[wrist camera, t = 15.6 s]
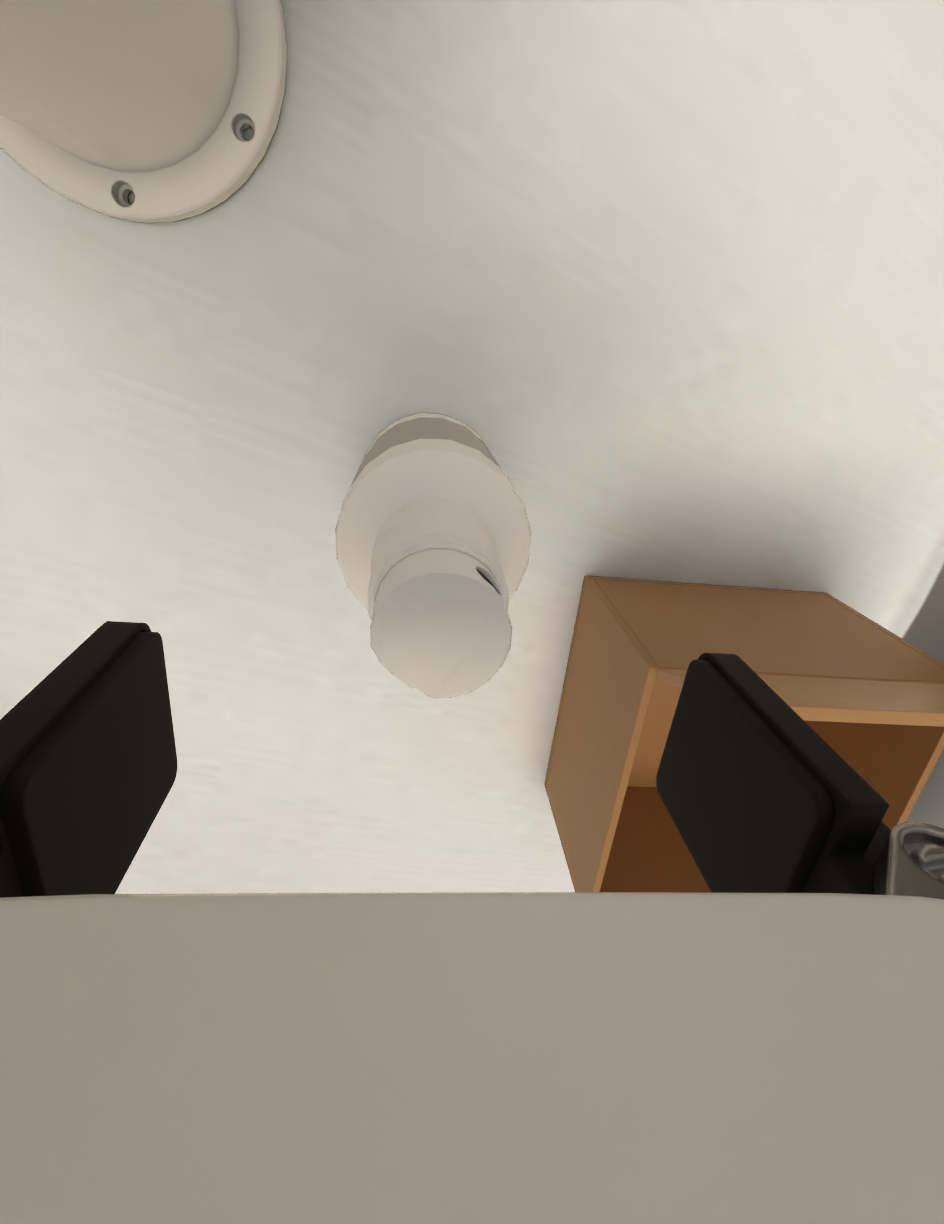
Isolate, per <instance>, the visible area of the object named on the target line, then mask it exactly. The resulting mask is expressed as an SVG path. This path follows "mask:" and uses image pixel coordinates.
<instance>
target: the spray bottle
mask: <svg viewBox="0 0 944 1224" xmlns="http://www.w3.org/2000/svg"><path fill="white" fill-rule="evenodd" d="M530 537H531V532H530V527H529V523H528V519H527V515H526V511H525V507H524V504H523V502H522V500H521V499H520V497H519V496H518V494H517V493H516V491H515V489H514V488H513V486H512V485H511V483H510V481H509V480H508V478H507V477H506V475H505V474H504V472H503V471H502V469H501V468H500V466H499V465H498V463H497V462H496V460H495V459H494V457H493V456H492V454H491V453H490V451H489V450H488V448H487V447H486V446H485V444H484V443H483V441H482V440H481V438H480V437H479V435H477V434H476V433H475V432H474V431H473V430H471V429H470V428H469V427H468V426H466V425H465V424H464V423H463V422H461V421H458V420H456V419H453V418H451V417H448V416H445V415H443V414H428V413H418V414H415V415H412V416H408V417H405V418H402V419H398V420H397V421H396V422H394V423H393V424H391V425H390V426H389V427H387V428H386V429H384V430H383V431H382V432H380V434H379V435H378V437H377V438H376V439H375V441H374V442H373V444H372V445H371V446H370V448H369V449H368V451H367V453H366V455H365V457H364V459H363V461H362V463H361V466H360V468H359V470H358V472H357V474H356V476H355V478H354V480H353V482H352V484H351V486H350V488H349V491H348V493H347V495H346V497H345V499H344V502H343V505H342V509H341V512H340V515H339V519H338V522H337V526H336V549H337V560H338V563H339V565H340V568H341V570H342V573H343V575H344V578H345V580H346V583H347V585H348V588H349V589H350V590H351V592H352V593H353V594H354V595H355V596H356V598H357V599H358V600H359V601H360V602H361V604H362V605H363V606H364V607H365V609H366V610H367V611H368V613H369V615H370V618H371V626H370V636H371V647H372V649H373V651H374V652H375V654H376V655H377V658H378V660H379V661H380V662H381V663H382V664H383V665H384V666H385V667H386V668H387V669H388V670H389V671H390V672H391V673H392V674H393V675H394V676H396V677H397V678H398V679H400V680H401V681H402V682H404V683H405V684H407V685H408V686H409V687H412V688H415V689H416V690H418V691H420V692H422V693H424V694H425V695H427V696H429V697H432V698H451V697H455V696H459V695H462V694H466V693H469V692H472V691H473V690H475V689H477V688H478V687H480V686H482V685H483V684H485V683H486V682H488V681H489V680H490V679H491V678H492V677H493V676H494V675H495V673H496V672H497V671H498V670H499V669H500V668H501V667H502V665H503V663H504V661H505V659H506V656H507V654H508V652H509V650H510V647H511V635H512V626H511V622H510V618H509V615H508V601H509V598H510V597H511V596H512V595H513V594H514V593H515V591H516V590H517V588H518V586H519V583H520V581H521V579H522V576H523V574H524V572H525V569H526V567H527V565H528V560H529V548H530Z"/></svg>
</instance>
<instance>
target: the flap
mask: <svg viewBox="0 0 944 1224" xmlns="http://www.w3.org/2000/svg"><path fill="white" fill-rule="evenodd" d="M686 673H687V671H679V670H660V669H659V670H658V675H657V679H658V680H661V681H664V682H667V683H669V684H672V685H675V686H678V687H681V688H682V686H683V683H684V679H685V676H686ZM758 676H759V677H760V678H761V679H762V680H763V681H764V682H765V683H766V684H767V685H768V686H769V687H770V688H771V689H772V690H773V691H774V692H775V693H776V694H777V695H778V696H779V697H780V698H781V699H782V700H783V701H785V702H786V703H787V704H788V705H789V706H790V707H791V708H792V709H793V710H794V711H795V712H796V713H797V714H798V715H799V716H800V717H801V718H802V719H803V720H804V721H825V722H848V723H871V724H894V725H916V726H939V727H944V685H942V684H923V683H905V682H886V681H867V680H848V679H829V678H810V677H792V676H773V675H758Z"/></svg>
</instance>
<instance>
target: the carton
mask: <svg viewBox="0 0 944 1224" xmlns="http://www.w3.org/2000/svg"><path fill="white" fill-rule="evenodd" d="M703 653H723V654H736V655H737V656H739V657H740V658H741V659H742V660H743V661H744V662H745V663H746V664H747V665H748V666H749V667H750V668H751V669H752V670H753V671H754V672H755V673H756V674H757V675H773V676H792V677H810V678H829V679H848V680H867V681H886V682H905V683H923V684H942V685H944V664H943V663H941V662H939V661H937V660H936V659H934V658H933V657H931V656H929V655H928V654H926V653H925V652H923V651H921V650H919V649H918V648H916V647H915V646H913V645H911V644H910V643H908V642H906V641H905V640H903V639H901V638H900V637H898V636H897V635H895V634H893V633H892V632H890V631H888V630H887V629H885V628H883V627H882V626H880V625H878V624H877V623H875V622H874V621H872V620H870V619H869V618H867V617H865V616H864V615H862V614H860V613H859V612H857V611H855V610H854V609H852V608H851V607H849V606H847V605H846V604H844V603H842V602H841V601H839V600H837V599H836V598H834V597H832V596H831V595H829V594H828V593H819V592H805V591H791V590H777V589H763V588H748V587H734V586H720V585H706V584H692V583H678V582H664V581H650V580H636V579H622V578H608V577H594V576H585V577H584V582H583V587H582V592H581V597H580V602H579V608H578V613H577V618H576V623H575V629H574V634H573V639H572V644H571V649H570V655H569V660H568V665H567V670H566V675H565V681H564V686H563V691H562V696H561V701H560V707H559V712H558V717H557V722H556V727H555V733H554V738H553V743H552V748H551V754H550V759H549V764H548V769H547V774H546V780H545V788H546V791H547V795H548V798H549V802H550V805H551V809H552V812H553V816H554V819H555V823H556V826H557V830H558V833H559V837H560V840H561V844H562V847H563V851H564V854H565V858H566V861H567V865H568V868H569V872H570V875H571V879H572V882H573V886H574V889H575V892H671V893H711V891H710V889H709V887H708V885H707V883H706V881H705V880H704V878H703V876H702V874H701V872H700V870H699V868H698V866H697V865H696V863H695V861H694V859H693V857H692V855H691V853H690V852H689V850H688V848H687V846H686V844H685V842H684V840H683V838H682V837H681V835H680V833H679V831H678V829H677V827H676V825H675V824H674V822H673V820H672V818H671V816H670V814H669V812H668V810H667V809H666V807H665V805H664V803H663V801H662V799H661V797H660V796H659V793H658V790H657V785H656V776H657V771H658V768H659V765H660V761H661V758H662V754H663V751H664V748H665V744H666V741H667V737H668V734H669V731H670V727H671V724H672V720H673V717H674V713H675V710H676V707H677V703H678V700H679V696H680V693H681V690H682V688H681V687H678V686H675V685H672V684H669V683H667V682H664V681H661V680H658V679H657V675H658V670H659V669H660V670H679V671H687V669H688V666H689V664H690V663H691V661H693V660H698V658H699V656H700V655H701V654H703ZM805 722H806V723H807V724H808V725H809V726H810V727H811V728H812V729H813V730H814V731H815V732H816V733H817V734H818V735H819V736H820V737H821V738H822V739H823V740H824V741H825V742H826V743H827V744H828V745H829V746H830V747H831V748H832V749H833V750H834V751H835V752H836V753H837V754H838V755H839V756H840V757H841V758H842V759H843V760H844V761H845V762H846V763H847V764H848V765H849V766H850V767H852V768H853V769H854V770H855V771H856V772H857V773H858V774H859V775H860V776H861V777H862V778H863V779H864V780H865V781H866V782H867V783H868V784H869V785H870V786H871V787H872V788H873V789H874V790H875V791H876V792H877V793H878V794H879V795H880V796H881V797H882V798H883V799H884V800H885V801H886V802H887V803H888V804H889V807H888V809H887V811H886V813H885V815H884V817H883V819H882V822H883V823H884V824H885V825H886V826H887V827H888V828H889V829H890V830H892V828H893V827H894V826H896V825H898V824H900V823H903V822H906V820H907V818H908V816H909V815H910V813H911V811H912V809H913V806H914V805H915V803H916V801H917V799H918V797H919V795H920V793H921V791H922V789H923V787H924V785H925V783H926V781H927V779H928V778H929V776H930V774H931V772H932V770H933V768H934V766H935V764H936V762H937V760H938V758H939V756H940V754H941V752H942V750H943V748H944V727H939V726H916V725H894V724H871V723H848V722H825V721H805Z"/></svg>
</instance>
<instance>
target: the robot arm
mask: <svg viewBox="0 0 944 1224" xmlns="http://www.w3.org/2000/svg"><path fill="white" fill-rule="evenodd" d="M286 63H287V48H286V37H285V26H284V15H283V10H282V5H281V1H280V0H0V147H1V148H2V149H3V150H4V151H5V152H6V153H7V154H8V155H9V156H10V157H11V158H12V159H13V160H14V161H15V162H16V163H17V164H18V165H19V166H20V167H21V168H22V169H24V170H25V171H26V172H28V173H29V174H30V175H32V176H33V177H35V178H36V179H37V180H39V181H40V182H42V183H43V184H44V185H46V186H47V187H49V188H50V189H52V190H53V191H54V192H56V193H58V194H60V195H62V196H64V197H66V198H68V199H70V200H72V201H74V202H76V203H78V204H80V205H82V206H85V207H87V208H89V209H92V210H95V211H97V212H100V213H103V214H105V215H108V216H111V217H115V218H120V219H126V220H131V221H137V222H142V223H148V222H173V221H177V220H181V219H185V218H188V217H192V216H196V215H200V214H202V213H203V212H205V211H207V210H209V209H211V208H213V207H215V206H216V205H218V204H220V203H222V202H224V201H225V200H226V199H227V198H229V197H230V196H231V195H232V194H233V193H234V192H235V191H236V190H237V189H239V188H240V187H241V186H242V185H243V184H244V183H245V182H246V181H247V180H248V178H249V177H250V175H251V174H252V173H253V171H254V170H255V168H256V167H257V165H258V164H259V163H260V161H261V160H262V158H263V157H264V155H265V153H266V150H267V148H268V146H269V143H270V141H271V139H272V136H273V134H274V132H275V130H276V127H277V123H278V119H279V115H280V110H281V106H282V102H283V97H284V93H285V79H286ZM249 127H250V128H252V129H253V131H254V137H253V138H252V139H251V140H248V141H247V140H245V139H244V137H243V132H244V130H245V129H246V128H249ZM130 192H134V194H135V200H134V203H133V204H132V205H130V204H129V203H128V200H127V195H128V194H129V193H130ZM176 772H177V756H176V748H175V740H174V732H173V724H172V716H171V708H170V700H169V692H168V684H167V676H166V668H165V659H164V651H163V643H162V638H161V636H160V634H159V633H158V632H151V630H150V628H149V626H148V625H147V624H146V623H131V622H111V621H107V622H106V623H104V624H103V625H102V626H101V627H100V628H98V629H97V630H96V631H95V632H94V633H93V634H92V635H91V636H90V637H89V638H88V639H87V640H86V641H84V642H83V643H82V644H81V645H80V646H79V647H78V648H77V649H76V650H75V651H74V652H73V653H72V654H71V655H69V656H68V657H67V658H66V659H65V660H64V661H63V662H62V663H61V664H60V665H59V666H58V667H57V668H55V669H54V670H53V671H52V672H51V673H50V674H49V675H48V676H47V677H46V678H45V679H44V680H43V681H42V682H40V683H39V684H38V685H37V686H36V687H35V688H34V689H33V690H32V691H31V692H30V693H29V694H28V695H26V696H25V697H24V698H23V699H22V700H21V701H20V702H19V703H18V704H17V705H16V706H15V707H14V708H13V709H11V710H10V711H9V712H8V713H7V714H6V715H5V716H4V717H3V718H2V719H1V720H0V1224H944V829H943V828H939V827H937V826H933V825H930V824H925V823H918V822H903V823H900V824H898V825H896V826H894V827H893V828H892V830H890V829H889V828H888V827H887V826H886V825H885V824H884V823H883V822H882V819H883V817H884V815H885V813H886V811H887V809H888V807H889V804H888V803H887V802H886V801H885V800H884V799H883V798H882V797H881V796H880V795H879V794H878V793H877V792H876V791H875V790H874V789H873V788H872V787H871V786H870V785H869V784H868V783H867V782H866V781H865V780H864V779H863V778H862V777H861V776H860V775H859V774H858V773H857V772H856V771H855V770H854V769H853V768H852V767H850V766H849V765H848V764H847V763H846V762H845V761H844V760H843V759H842V758H841V757H840V756H839V755H838V754H837V753H836V752H835V751H834V750H833V749H832V748H831V747H830V746H829V745H828V744H827V743H826V742H825V741H824V740H823V739H822V738H821V737H820V736H819V735H818V734H817V733H816V732H815V731H814V730H813V729H812V728H811V727H810V726H809V725H808V724H807V723H806V722H805V721H804V720H803V719H802V718H801V717H800V716H799V715H798V714H797V713H796V712H795V711H794V710H793V709H792V708H791V707H790V706H789V705H788V704H787V703H786V702H785V701H783V700H782V699H781V698H780V697H779V696H778V695H777V694H776V693H775V692H774V691H773V690H772V689H771V688H770V687H769V686H768V685H767V684H766V683H765V682H764V681H763V680H762V679H761V678H760V677H759V676H758V675H757V674H756V673H755V672H754V671H753V670H752V669H751V668H750V667H749V666H748V665H747V664H746V663H745V662H744V661H743V660H742V659H741V658H740V657H739V656H737V655H736V654H723V653H703V654H701V655H700V656H699V658H698V660H693V661H691V663H690V664H689V666H688V669H687V673H686V676H685V679H684V683H683V686H682V690H681V693H680V696H679V700H678V703H677V707H676V710H675V713H674V717H673V720H672V724H671V727H670V731H669V734H668V737H667V741H666V744H665V748H664V751H663V754H662V758H661V761H660V765H659V768H658V771H657V776H656V785H657V790H658V793H659V796H660V797H661V799H662V801H663V803H664V805H665V807H666V809H667V810H668V812H669V814H670V816H671V818H672V820H673V822H674V824H675V825H676V827H677V829H678V831H679V833H680V835H681V837H682V838H683V840H684V842H685V844H686V846H687V848H688V850H689V852H690V853H691V855H692V857H693V859H694V861H695V863H696V865H697V866H698V868H699V870H700V872H701V874H702V876H703V878H704V880H705V881H706V883H707V885H708V887H709V889H710V891H711V893H671V892H500V893H498V892H497V893H227V894H115V892H116V890H117V888H118V886H119V885H120V883H121V881H122V879H123V877H124V875H125V873H126V872H127V870H128V868H129V866H130V864H131V862H132V860H133V858H134V857H135V855H136V853H137V851H138V849H139V847H140V845H141V843H142V842H143V840H144V838H145V836H146V834H147V832H148V830H149V828H150V827H151V825H152V823H153V821H154V819H155V817H156V815H157V814H158V812H159V810H160V808H161V806H162V804H163V802H164V800H165V799H166V797H167V795H168V793H169V791H170V789H171V787H172V785H173V783H174V781H175V777H176Z"/></svg>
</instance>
